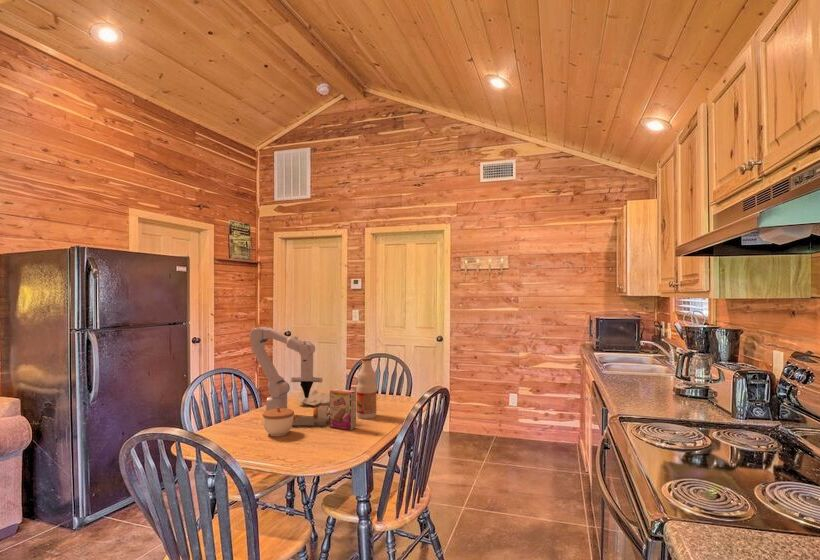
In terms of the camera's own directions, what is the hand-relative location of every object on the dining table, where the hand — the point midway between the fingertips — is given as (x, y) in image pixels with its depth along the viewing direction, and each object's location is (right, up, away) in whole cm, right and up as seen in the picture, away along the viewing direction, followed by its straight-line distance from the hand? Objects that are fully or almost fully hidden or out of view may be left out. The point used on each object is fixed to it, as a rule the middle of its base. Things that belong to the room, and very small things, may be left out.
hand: (306, 397), depth 221 cm
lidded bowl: (-6, -9, -25) cm, 27 cm away
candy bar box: (+20, -9, -17) cm, 27 cm away
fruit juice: (+28, -10, +1) cm, 30 cm away
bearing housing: (+4, -9, -9) cm, 13 cm away
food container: (+5, -10, +22) cm, 25 cm away
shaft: (+10, -7, -9) cm, 15 cm away
